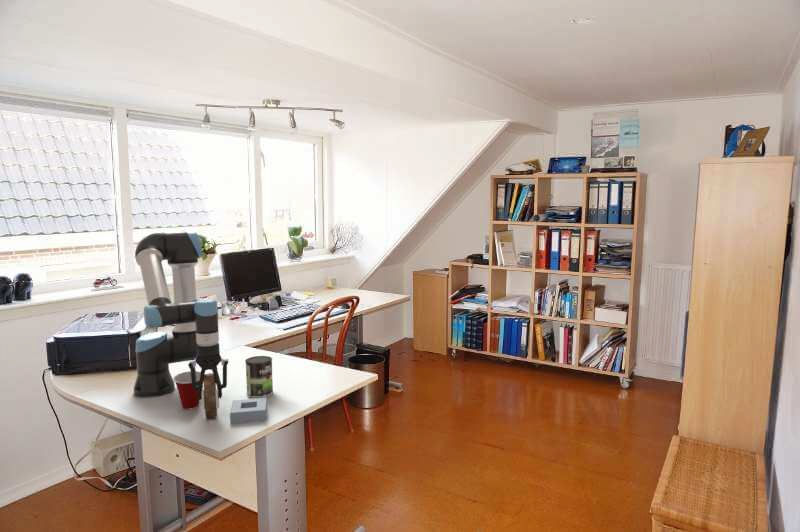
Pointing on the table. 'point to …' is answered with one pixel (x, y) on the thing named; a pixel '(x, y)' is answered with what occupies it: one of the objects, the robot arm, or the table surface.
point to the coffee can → (259, 376)
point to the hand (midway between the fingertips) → (210, 407)
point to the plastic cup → (187, 389)
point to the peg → (210, 395)
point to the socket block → (248, 410)
